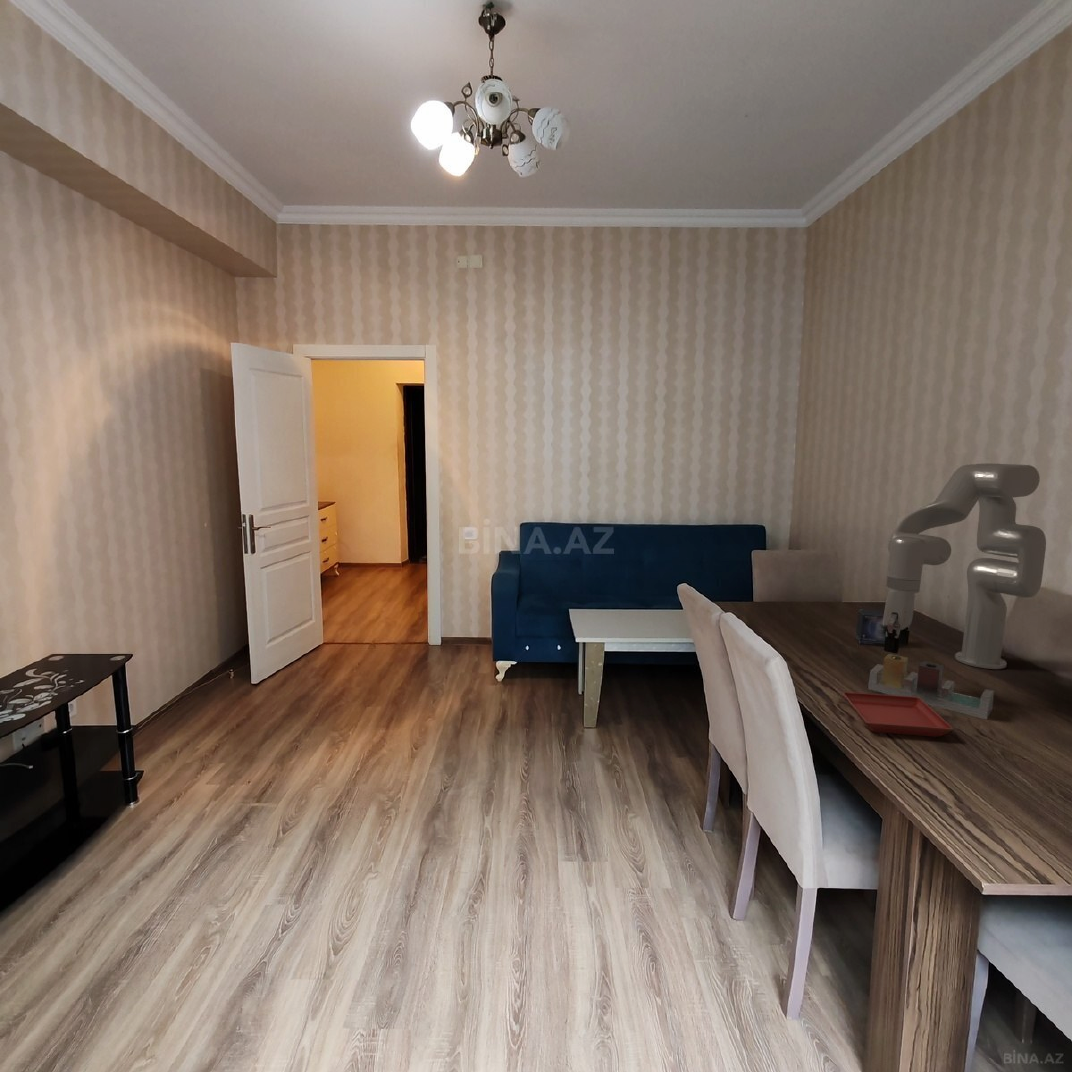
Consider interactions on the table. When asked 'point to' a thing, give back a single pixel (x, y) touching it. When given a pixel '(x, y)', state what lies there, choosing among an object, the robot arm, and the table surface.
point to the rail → (943, 700)
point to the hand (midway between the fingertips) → (895, 648)
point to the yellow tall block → (894, 670)
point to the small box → (870, 628)
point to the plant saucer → (897, 714)
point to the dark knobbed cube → (929, 678)
